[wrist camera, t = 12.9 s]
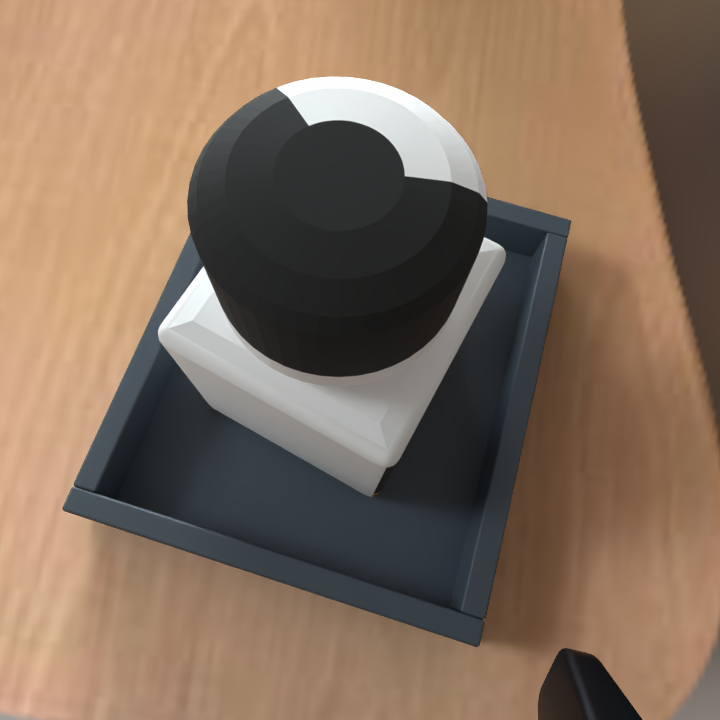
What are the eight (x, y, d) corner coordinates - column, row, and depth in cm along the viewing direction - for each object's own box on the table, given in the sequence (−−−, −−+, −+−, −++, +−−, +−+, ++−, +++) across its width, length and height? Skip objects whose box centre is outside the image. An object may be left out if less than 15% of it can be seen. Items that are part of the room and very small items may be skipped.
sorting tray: (462, 638, 20) (479, 648, 18) (91, 516, 21) (60, 509, 19) (549, 252, 25) (571, 220, 23) (247, 166, 26) (238, 126, 24)
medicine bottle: (374, 502, 21) (420, 425, 10) (205, 405, 22) (66, 231, 11) (462, 339, 23) (582, 121, 12) (304, 257, 24) (277, -17, 13)
